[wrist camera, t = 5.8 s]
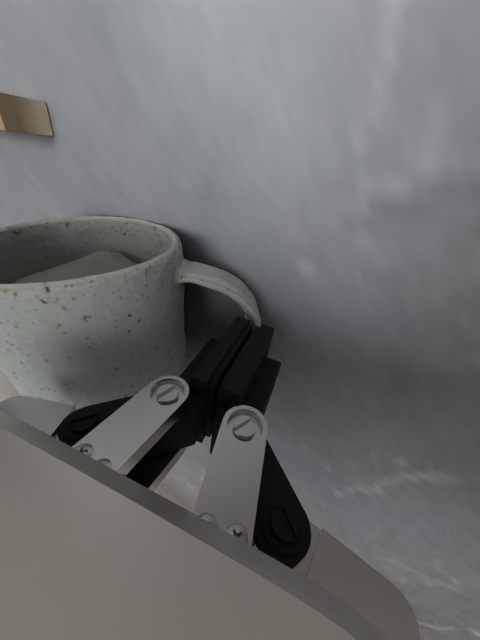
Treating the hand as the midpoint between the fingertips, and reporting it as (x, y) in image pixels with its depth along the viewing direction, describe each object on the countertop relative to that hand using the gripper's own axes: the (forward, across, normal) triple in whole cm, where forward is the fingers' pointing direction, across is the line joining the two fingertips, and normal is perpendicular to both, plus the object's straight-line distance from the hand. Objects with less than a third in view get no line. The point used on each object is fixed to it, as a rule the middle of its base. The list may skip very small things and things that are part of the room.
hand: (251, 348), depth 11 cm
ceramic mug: (+2, +5, 0) cm, 6 cm away
